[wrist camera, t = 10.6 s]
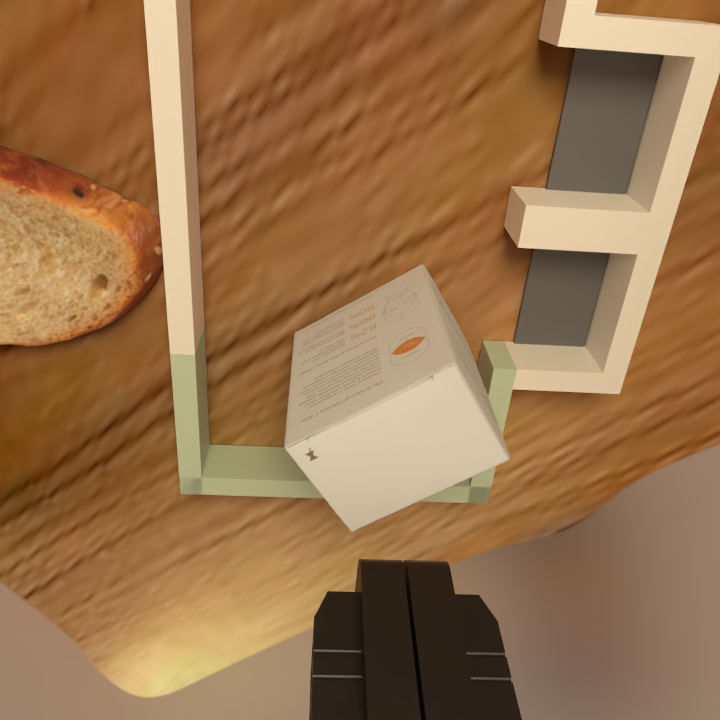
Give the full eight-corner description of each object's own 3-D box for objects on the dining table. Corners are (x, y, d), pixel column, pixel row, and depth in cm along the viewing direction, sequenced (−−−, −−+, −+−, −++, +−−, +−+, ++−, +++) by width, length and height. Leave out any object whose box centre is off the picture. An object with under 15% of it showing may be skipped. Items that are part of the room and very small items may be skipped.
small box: (344, 404, 39) (347, 537, 30) (291, 329, 37) (278, 451, 28) (470, 342, 38) (514, 463, 29) (424, 259, 35) (457, 363, 26)
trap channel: (158, -46, 28) (140, -47, 25) (705, 0, 30) (741, 4, 27) (190, 460, 41) (180, 493, 38) (568, 473, 43) (584, 506, 40)
